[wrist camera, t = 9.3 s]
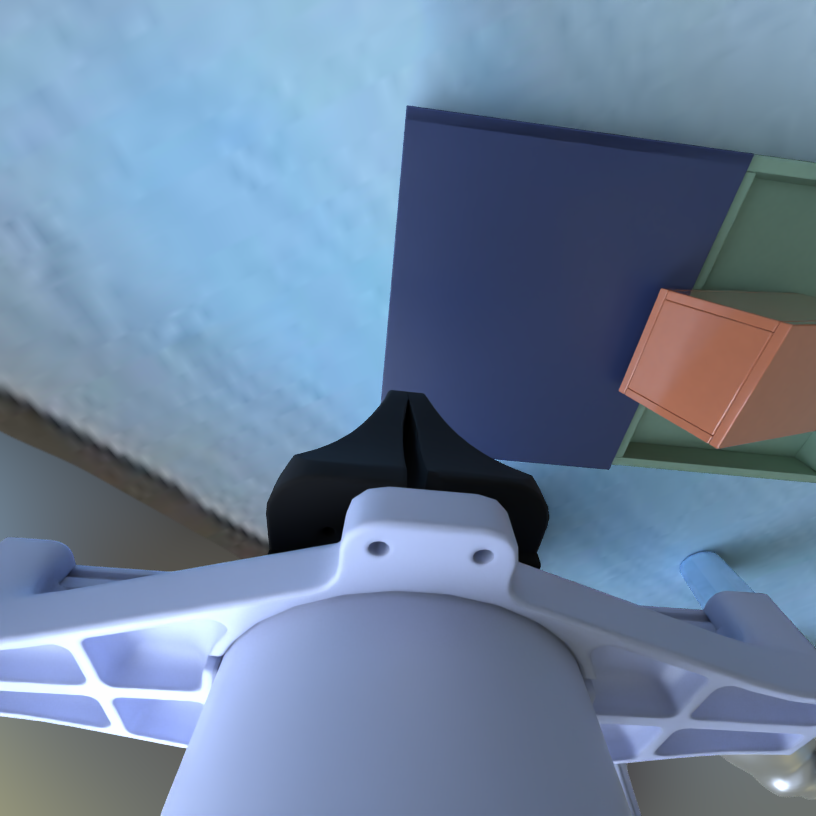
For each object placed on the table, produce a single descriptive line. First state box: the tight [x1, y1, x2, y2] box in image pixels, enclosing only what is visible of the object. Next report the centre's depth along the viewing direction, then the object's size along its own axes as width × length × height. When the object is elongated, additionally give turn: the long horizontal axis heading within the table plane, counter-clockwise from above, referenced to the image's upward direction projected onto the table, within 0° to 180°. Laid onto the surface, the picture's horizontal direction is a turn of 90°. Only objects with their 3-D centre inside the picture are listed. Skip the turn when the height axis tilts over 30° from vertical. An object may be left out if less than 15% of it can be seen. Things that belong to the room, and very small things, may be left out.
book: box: [381, 106, 754, 470], centre depth 20 cm, size 16×14×3 cm
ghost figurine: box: [721, 738, 816, 800], centre depth 35 cm, size 9×10×10 cm
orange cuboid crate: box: [619, 288, 816, 449], centre depth 18 cm, size 10×5×5 cm, turn 84°
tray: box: [612, 154, 816, 483], centre depth 21 cm, size 16×14×2 cm
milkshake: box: [680, 551, 755, 609], centre depth 28 cm, size 5×5×10 cm
